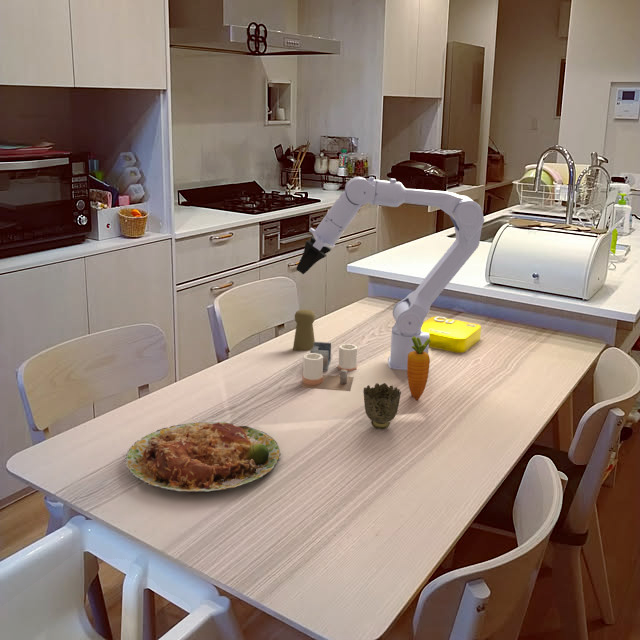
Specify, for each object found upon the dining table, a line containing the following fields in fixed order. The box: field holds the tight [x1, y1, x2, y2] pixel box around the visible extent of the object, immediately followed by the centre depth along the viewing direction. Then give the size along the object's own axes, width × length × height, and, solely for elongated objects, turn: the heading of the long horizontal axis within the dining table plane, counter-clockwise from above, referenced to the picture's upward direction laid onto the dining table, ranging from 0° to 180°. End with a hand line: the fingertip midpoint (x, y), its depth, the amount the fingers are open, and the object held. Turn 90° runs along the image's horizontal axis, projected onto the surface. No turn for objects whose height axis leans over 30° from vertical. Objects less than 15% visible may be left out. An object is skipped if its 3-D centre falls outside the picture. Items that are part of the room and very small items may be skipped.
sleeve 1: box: [302, 352, 324, 385], centre depth 161 cm, size 4×4×6 cm
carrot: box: [406, 336, 431, 401], centre depth 153 cm, size 5×5×15 cm
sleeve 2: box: [337, 343, 358, 372], centre depth 170 cm, size 4×4×6 cm
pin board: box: [301, 369, 354, 392], centre depth 161 cm, size 11×8×4 cm
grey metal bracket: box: [309, 341, 332, 372], centre depth 170 cm, size 11×6×6 cm, turn 82°
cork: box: [292, 309, 316, 352], centre depth 182 cm, size 6×6×11 cm
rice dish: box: [124, 421, 282, 493], centre depth 129 cm, size 28×28×5 cm
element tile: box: [421, 315, 482, 354], centre depth 194 cm, size 15×15×5 cm
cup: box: [362, 382, 402, 430], centre depth 142 cm, size 8×7×8 cm
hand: (302, 269), depth 168 cm, fingers open, 7 cm apart
